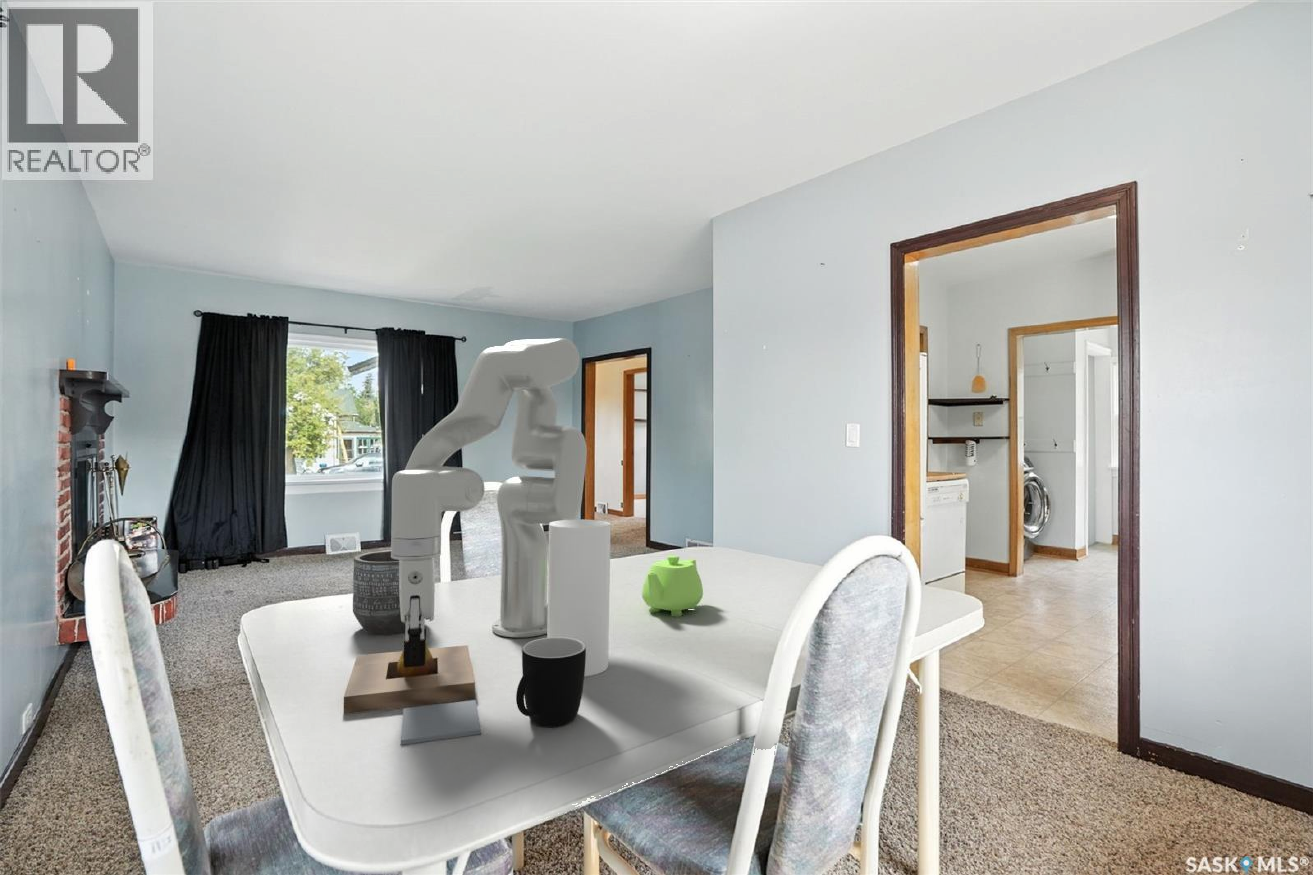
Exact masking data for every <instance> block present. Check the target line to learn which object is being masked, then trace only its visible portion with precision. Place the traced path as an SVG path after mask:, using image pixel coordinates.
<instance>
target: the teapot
mask: <svg viewBox="0 0 1313 875" xmlns="http://www.w3.org/2000/svg"><path fill="white" fill-rule="evenodd" d="M666 557H667V559H665V560H659V561H656V562H654V563H652V564H651V567H650V568H649V570H648V572H647V575H646V576H645V579H644V582H643V586H642V592H641V593H642V594H641V595H642V599H643V601H644V602H645V605H646V606H648V607H650V608H649V610H648V612H651V613H658V612H660V611H661V610H665V611H671V614H670V616H672V615H673V616H672V617H675V616H679V617H681V616H680V615H682V616H683V612H682V611H683V610H685V609H696V606H697V605H699V603H700V602H701V600H702V598H703V595H704V589H703V584H702V580H701V576H700V574H699V572H698V568H697V561H696V559H693V558H688V559H686V560H680V555H679V556H678V555H668V556H666Z"/></svg>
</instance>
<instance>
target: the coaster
mask: <svg viewBox="0 0 1313 875" xmlns="http://www.w3.org/2000/svg"><path fill="white" fill-rule="evenodd" d="M477 706H478V705H477V700H476V699H470V700H462V701H454V702H445V703H437V704H429V705H420V706H412V707H404V708H403V710H402V720H401V731H400V732H401V733H400V746H402V745H409V744H417V743H423V742H431V741H439V740H445V739H447V740H448V739H453V738H460V737H467V736H468V737H469V736H475V735H481V734H482V730H481V722H480V717H479V713H478V711H479V710H478V707H477Z"/></svg>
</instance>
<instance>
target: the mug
mask: <svg viewBox="0 0 1313 875" xmlns="http://www.w3.org/2000/svg"><path fill="white" fill-rule="evenodd" d="M585 661H586V646H585V644H584V643H583V642H581V641H579V640H576V639H572V638H565V637H550V638H547V637H543V638H542V637H541V638H539V639H534V640H531V641H528V642H527V643H525V644H524V645H523V647H522V650H521V665H522V666H521V667H522V677H521V678H520V680H519V682H518V685H517V688H516V689H517V690H516V694H515V696H516V697H515V699H516V700H515V701H516V702H515V703H516V706H517V708H518V711H519V712H520V713H521V714H522V715H524V716H525V717H529V720H530V721H531V722H532V723H533V724H534V725H536V726H539V727H544V728H557V727H563V726H566V725H568V724H570V723H572V722H573V721H574V720H575V718H576V717H577V715H578V713H579V710H580V706H581V703H582V702H581V701H582V696H583V689H584V682H585V677H584V674H585Z"/></svg>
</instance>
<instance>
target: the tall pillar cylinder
mask: <svg viewBox="0 0 1313 875" xmlns="http://www.w3.org/2000/svg"><path fill="white" fill-rule="evenodd" d="M611 524H612V523H611V522H610V521H604V520H598V519H584V518H582V519H577V518H576V519H574V520H560V521H554V522H551V523H549V524H548V586H547V604H548V621H547V633H546V635H547V636H546V638H550V637H565V638H572V639H576V640H579V641H581V642H583V643H584V644H585V646H586V661H585V674H584V678H586V677H591V676H595V675H598V674H600V673H603V672H604V671H606V670H608V668H609V649H610V648H609V646H610V645H609V643H610V642H609V640H610V639H609V637H610V636H609V635H610V593H611V592H610V585H611V584H610V583H611V582H610V581H611V580H610V579H611V526H612V525H611Z"/></svg>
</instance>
